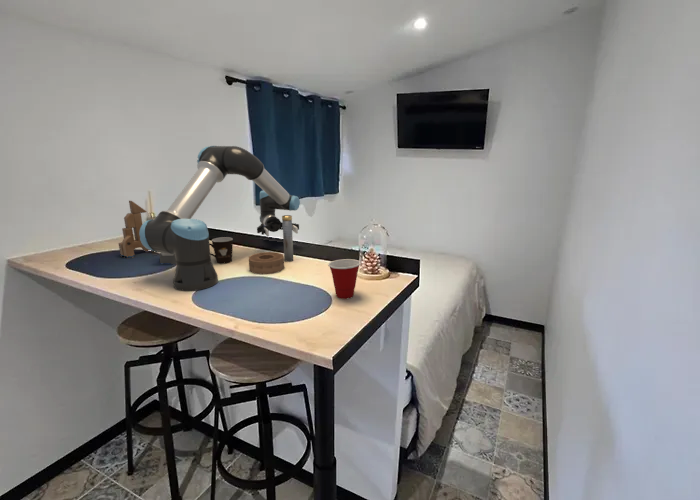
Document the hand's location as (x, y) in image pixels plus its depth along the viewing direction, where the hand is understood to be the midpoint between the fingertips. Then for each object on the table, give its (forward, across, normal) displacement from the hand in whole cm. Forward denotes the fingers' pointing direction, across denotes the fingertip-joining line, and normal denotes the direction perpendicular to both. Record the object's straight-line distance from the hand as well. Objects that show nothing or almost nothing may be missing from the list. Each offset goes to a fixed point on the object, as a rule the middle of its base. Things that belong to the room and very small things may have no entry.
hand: (282, 231), depth 168 cm
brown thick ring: (+17, +11, -11) cm, 23 cm away
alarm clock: (-12, +46, -11) cm, 49 cm away
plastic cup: (+56, -7, -11) cm, 58 cm away
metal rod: (+9, 0, -11) cm, 14 cm away
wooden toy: (-29, +61, -11) cm, 68 cm away
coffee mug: (-1, +28, -11) cm, 30 cm away
